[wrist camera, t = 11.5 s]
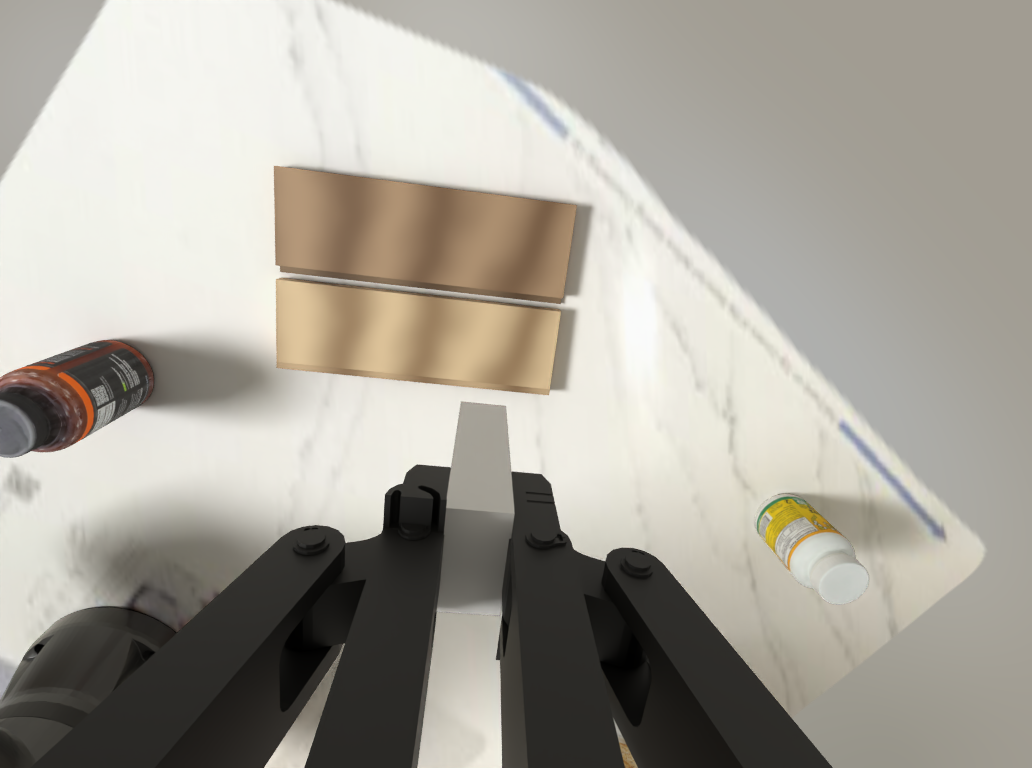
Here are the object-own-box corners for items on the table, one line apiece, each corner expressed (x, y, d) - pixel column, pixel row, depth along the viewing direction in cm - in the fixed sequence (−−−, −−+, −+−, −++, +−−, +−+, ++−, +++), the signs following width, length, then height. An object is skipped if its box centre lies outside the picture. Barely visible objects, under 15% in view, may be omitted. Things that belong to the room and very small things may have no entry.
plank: (282, 363, 43) (276, 367, 42) (281, 277, 41) (275, 279, 40) (547, 390, 45) (548, 395, 44) (559, 309, 43) (560, 311, 42)
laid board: (281, 271, 41) (275, 273, 40) (280, 166, 39) (274, 165, 38) (559, 303, 43) (561, 305, 42) (574, 205, 41) (576, 205, 40)
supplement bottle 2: (742, 512, 50) (798, 579, 41) (792, 481, 49) (861, 542, 40) (768, 550, 52) (828, 623, 43) (817, 521, 51) (889, 588, 42)
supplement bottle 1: (64, 368, 43) (-77, 422, 32) (113, 323, 42) (-16, 362, 31) (125, 421, 45) (9, 489, 34) (173, 378, 44) (70, 434, 33)
